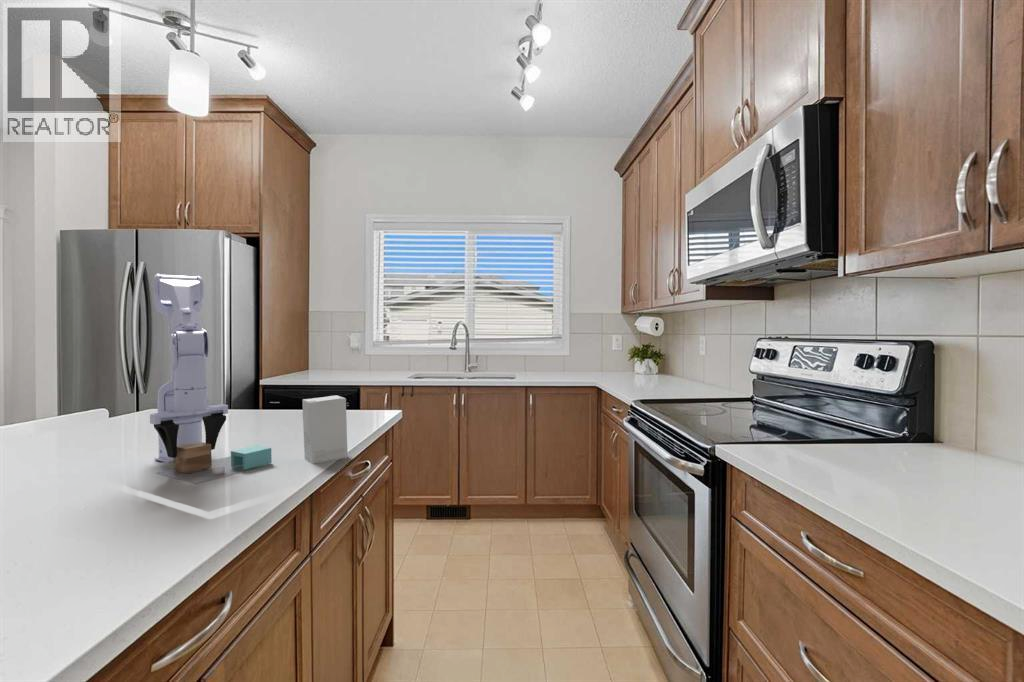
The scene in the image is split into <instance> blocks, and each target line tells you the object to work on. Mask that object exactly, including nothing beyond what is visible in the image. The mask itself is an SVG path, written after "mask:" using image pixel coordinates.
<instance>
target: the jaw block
mask: <svg viewBox="0 0 1024 682" xmlns="http://www.w3.org/2000/svg"><path fill="white" fill-rule="evenodd" d="M212 460H213V459H212V450H211V444H209V443H206V442H203V441H202V442H193V443H188V444H182V445H177V457H175V458H173V461H172V462H173V469H174V470H175V471H179V472H183V473H190V472H195V471H199V470H203V469H207V468H212Z"/></svg>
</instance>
